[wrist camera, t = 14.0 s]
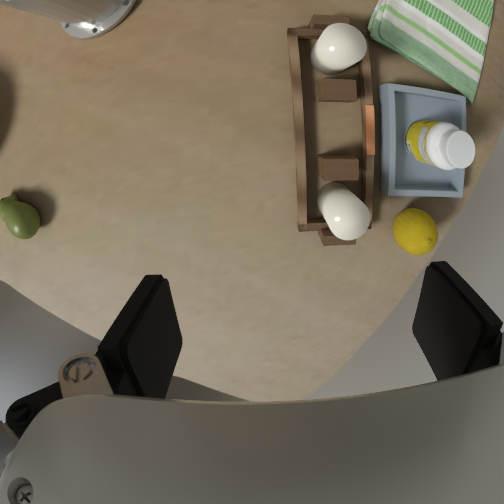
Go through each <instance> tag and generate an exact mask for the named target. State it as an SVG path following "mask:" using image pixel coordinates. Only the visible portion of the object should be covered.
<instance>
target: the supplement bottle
mask: <svg viewBox="0 0 504 504" xmlns="http://www.w3.org/2000/svg"><path fill="white" fill-rule="evenodd" d="M404 145H405V148H406V151H407V152H408V154H409V155H410V156H411V157H412V158H414V159H415V160H417V161H420V162H423V163H426V164H429V165H432V166H435V167H438V168H440V169H443V170H453V169H455V168H460V169H463V168H466V167H468V166H469V165H470V164H471V163H472V161H473V159H474V156H475V145H474V142H473V139H472V138H471V136H470V135H469V134H468V133H466V132H465V131H462V130H460V129H459V128H458V127H456V126H455V125H453V124H451V123H448V122H438V121H425V120H418V121H414V122H412V123H411V124H410V125H409V126H408V127H407V129H406V131H405V134H404Z"/></svg>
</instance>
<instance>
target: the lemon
mask: <svg viewBox="0 0 504 504" xmlns="http://www.w3.org/2000/svg"><path fill="white" fill-rule="evenodd" d="M393 233H394V237H395V239H396V241H397V243H398V244H399V245H400V247H401V248H403V249H404V250H405V251H407V252H409V253H411V254H414V255H422V254H426V253H428V252H429V251H431V250H432V249H433V247H434V246H435V244H436V242H437V239H438V231H437V227H436V224H435V222H434V220H433V219H432V218H431V217H430V215H429V214H428V213H426V212H424V211H423V210H421V209H417V208H408V209H405V210H403V211H401V212H400V213H399V214H398V215H397V217H396V218H395V221H394V224H393Z"/></svg>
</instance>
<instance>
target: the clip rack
mask: <svg viewBox="0 0 504 504" xmlns="http://www.w3.org/2000/svg"><path fill="white" fill-rule="evenodd" d="M335 23H346V24H349V25H350V19H349V17H342V16H328V15H313V17H312V19H311V21H310V23H309V28H288V30H287V37H288V48H289V59H290V71H291V84H292V99H293V114H294V132H295V152H296V177H297V211H298V230H299V231H319V232H318V234H319V236H320V238H321V241H322V243H323V246H330V245H353V244H356V239H354V240H342V239H340V238H338V237H336V236H335V235H334V234H333V233H332V231H331V230H330V228H329V226H328V224H327V222H326V220H325V219H307V190H306V156H305V133H304V114H303V98H302V83H301V70H300V58H299V47H298V39H319V37H320V36H321V34H322V33H323V31H324V30H325V29H326V28H327V27H328V26H330V25H332V24H335ZM361 33H362V34H363V36H364V38H365V40H366V44H367V50H366V53H365V55H364V57H363V58H362V59H361V60H360V61H358V65H359V77H360V92H361V111H362V202H363V203H364V204H365V205H366V206H367V208H368V210H369V213H370V223H369V226H368V228H367V229H371V224H372V208H373V185H374V155H375V121H374V105H373V94H372V79H371V66H370V55H369V46H368V37H367V32H361ZM314 88H315V102H353V101H357V90H356V80H348V79H322V78H320V79H318V80H317V81H316V82H314ZM318 174H319V176H320V177H321V178H322V179H323V180H324V181H330V180H359V159H357V158H355V157H353V156H351V155H318Z"/></svg>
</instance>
